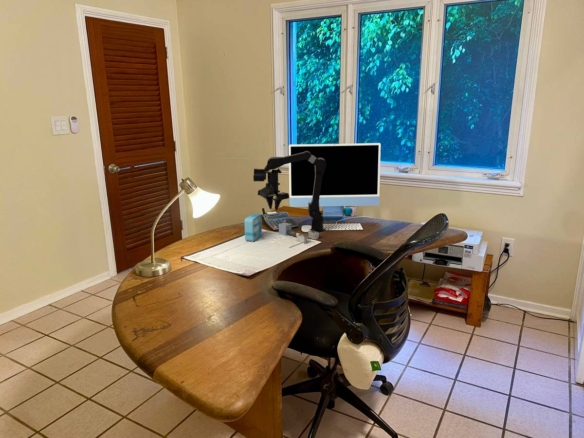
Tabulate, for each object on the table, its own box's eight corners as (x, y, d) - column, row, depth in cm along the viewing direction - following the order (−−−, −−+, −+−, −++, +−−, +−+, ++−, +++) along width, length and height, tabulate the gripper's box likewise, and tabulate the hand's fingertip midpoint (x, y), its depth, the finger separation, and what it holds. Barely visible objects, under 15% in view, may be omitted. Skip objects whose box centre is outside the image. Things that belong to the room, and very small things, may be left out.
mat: (281, 237, 226) (281, 236, 226) (301, 243, 217) (301, 242, 217) (269, 241, 220) (269, 241, 220) (289, 247, 211) (289, 247, 211)
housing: (311, 236, 228) (311, 229, 227) (318, 238, 224) (318, 231, 223) (296, 241, 219) (296, 234, 218) (304, 243, 216) (304, 236, 215)
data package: (253, 242, 219) (252, 219, 216) (245, 241, 220) (244, 218, 217) (262, 235, 230) (261, 213, 227) (254, 234, 231) (253, 213, 228)
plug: (284, 232, 236) (284, 222, 234) (302, 236, 227) (302, 226, 226) (278, 233, 232) (278, 224, 231) (296, 238, 224) (296, 228, 223)
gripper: (249, 181, 231) (250, 209, 235) (274, 185, 219) (275, 215, 223) (264, 178, 239) (265, 205, 243) (289, 182, 227) (289, 211, 231)
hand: (273, 209), depth 235 cm, fingers open, 4 cm apart
